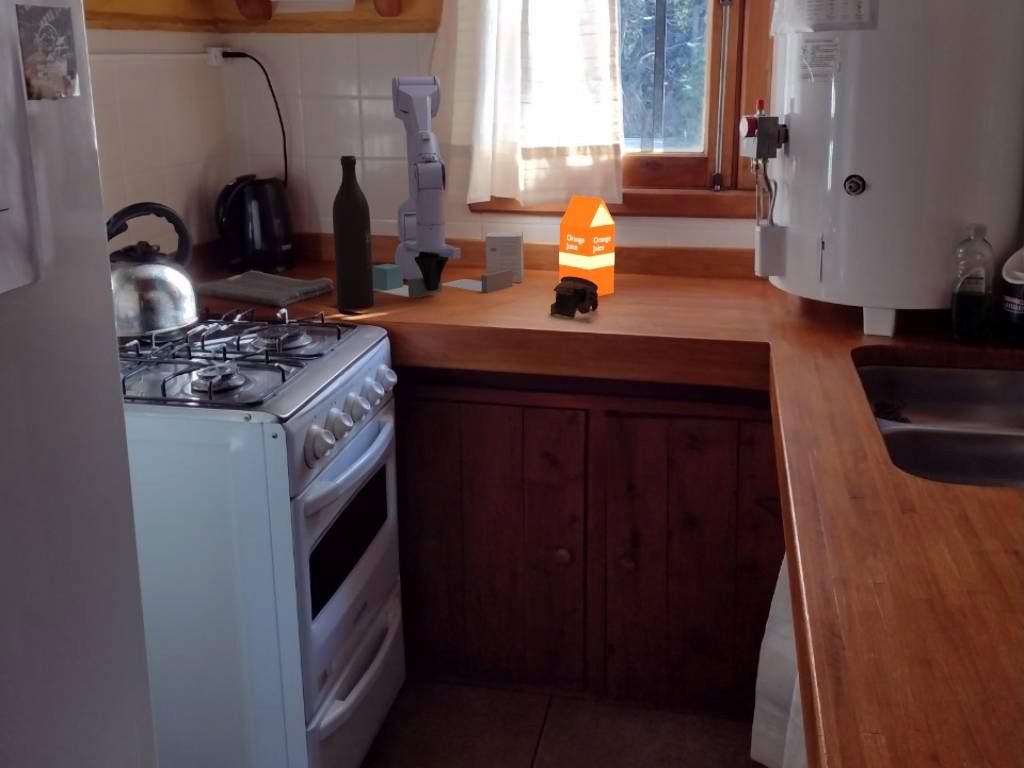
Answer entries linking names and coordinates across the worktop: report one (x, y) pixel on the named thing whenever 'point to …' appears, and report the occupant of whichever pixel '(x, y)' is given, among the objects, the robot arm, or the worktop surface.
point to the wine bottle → (352, 243)
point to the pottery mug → (574, 296)
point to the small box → (505, 253)
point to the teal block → (387, 276)
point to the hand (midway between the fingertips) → (432, 290)
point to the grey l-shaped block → (485, 282)
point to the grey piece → (412, 289)
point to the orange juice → (588, 243)
